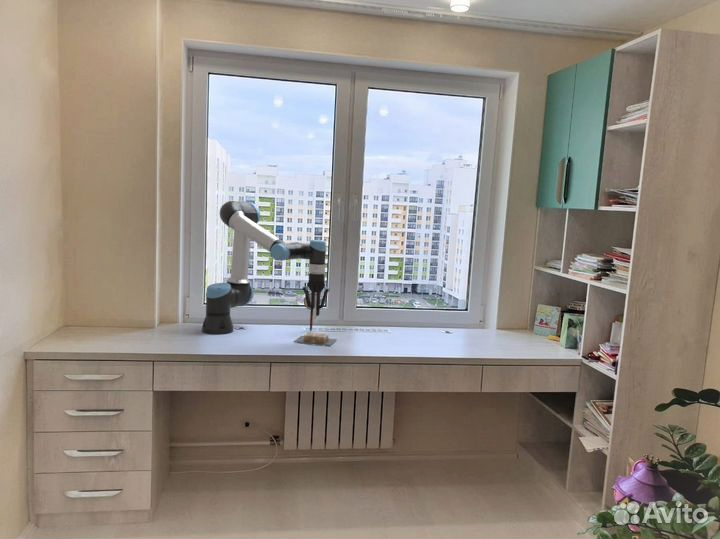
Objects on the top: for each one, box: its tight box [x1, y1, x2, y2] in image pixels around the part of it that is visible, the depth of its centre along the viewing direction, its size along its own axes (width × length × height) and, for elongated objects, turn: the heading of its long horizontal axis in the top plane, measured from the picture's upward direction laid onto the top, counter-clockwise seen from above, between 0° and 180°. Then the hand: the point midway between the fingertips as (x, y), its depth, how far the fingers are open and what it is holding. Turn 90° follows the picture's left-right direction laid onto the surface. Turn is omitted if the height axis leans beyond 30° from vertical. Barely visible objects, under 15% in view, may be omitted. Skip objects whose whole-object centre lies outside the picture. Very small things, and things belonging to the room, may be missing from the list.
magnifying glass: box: [303, 292, 322, 332], centre depth 268 cm, size 9×2×20 cm, turn 99°
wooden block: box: [303, 331, 329, 344], centre depth 248 cm, size 3×7×10 cm
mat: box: [293, 335, 338, 347], centre depth 249 cm, size 18×12×1 cm, turn 79°
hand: (314, 322), depth 247 cm, fingers closed
